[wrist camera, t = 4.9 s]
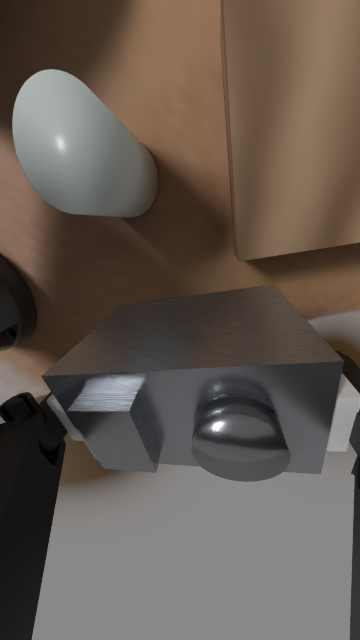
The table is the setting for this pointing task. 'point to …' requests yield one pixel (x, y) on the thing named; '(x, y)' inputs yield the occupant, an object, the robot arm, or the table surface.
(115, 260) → the table surface
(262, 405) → the housing
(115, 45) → the table surface
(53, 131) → the pale grey pebble
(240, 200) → the stand
